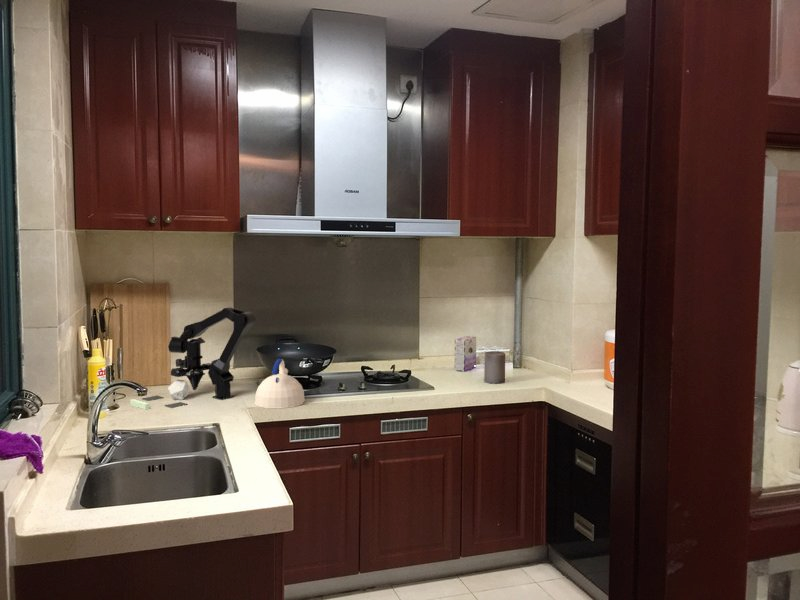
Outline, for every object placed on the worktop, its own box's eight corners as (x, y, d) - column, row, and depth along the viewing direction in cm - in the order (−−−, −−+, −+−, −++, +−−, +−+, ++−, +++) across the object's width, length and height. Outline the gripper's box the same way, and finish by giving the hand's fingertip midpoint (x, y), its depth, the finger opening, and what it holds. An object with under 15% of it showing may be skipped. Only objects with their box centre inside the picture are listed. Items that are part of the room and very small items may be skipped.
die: (170, 403, 263) (185, 385, 263) (160, 391, 267) (174, 372, 267) (184, 406, 270) (198, 388, 270) (173, 394, 274) (187, 376, 274)
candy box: (466, 366, 340) (466, 335, 339) (476, 367, 337) (476, 336, 335) (454, 370, 328) (454, 338, 327) (464, 372, 325) (464, 339, 324)
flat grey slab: (187, 404, 259) (187, 399, 259) (152, 411, 248) (152, 406, 247) (157, 396, 274) (157, 391, 273) (123, 402, 262) (123, 397, 262)
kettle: (309, 396, 273) (308, 354, 271) (300, 409, 252) (299, 363, 251) (261, 396, 273) (260, 354, 272) (248, 409, 253) (247, 363, 251)
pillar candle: (501, 379, 307) (501, 348, 306) (507, 383, 298) (508, 351, 296) (481, 380, 306) (481, 348, 304) (487, 384, 296) (488, 352, 295)
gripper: (202, 348, 285) (203, 383, 286) (163, 354, 271) (164, 390, 272) (216, 351, 278) (217, 387, 279) (177, 357, 264) (178, 394, 265)
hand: (194, 389), depth 274 cm, fingers closed
